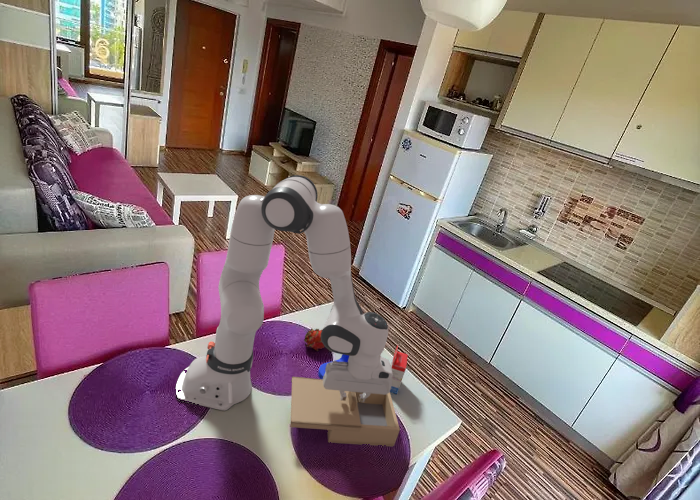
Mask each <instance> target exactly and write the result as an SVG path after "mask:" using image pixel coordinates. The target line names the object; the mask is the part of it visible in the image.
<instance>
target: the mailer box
mask: <svg viewBox="0 0 700 500" xmlns="http://www.w3.org/2000/svg"><path fill="white" fill-rule="evenodd" d="M360 394H363V393H361V392H356V399H357V405H358V411H359V417H360V423H361V429H360V432H355V431H340V430H327V431H328V432H327V442H328V443H330V442H331V443H332V444H333V443H335V444H348V445H349V444H350V445H362V444H367V445H366V446H378V445H382V447H393V446H394V447H395V444H396V441H397V439H398V436H399V433H400V425H399V422H398V418H397V414H396V410H395V407H394V403H393V400H392V395H391V392H389V393H388V394H386V395H383V394H372V393H371V394H370V396H369V397H367V398H366V399H365V401H364V402H359V395H360ZM368 444H370V445H368ZM384 445H386V446H384Z"/></svg>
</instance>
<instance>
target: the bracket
mask: <svg viewBox="0 0 700 500" xmlns="http://www.w3.org/2000/svg"><path fill="white" fill-rule="evenodd" d="M348 359H349V356H348V355H343V354H341V356H340V358H339V359H336V360H335V359H334V361H337V362H348ZM332 361H333V360H332ZM332 361H328V362H324V363H322V364H320V366H319V368H318V371H317V375H318V379H323V377H324V374H325V372H326V371H325V368H326V365H327V363H330V362H332Z"/></svg>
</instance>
